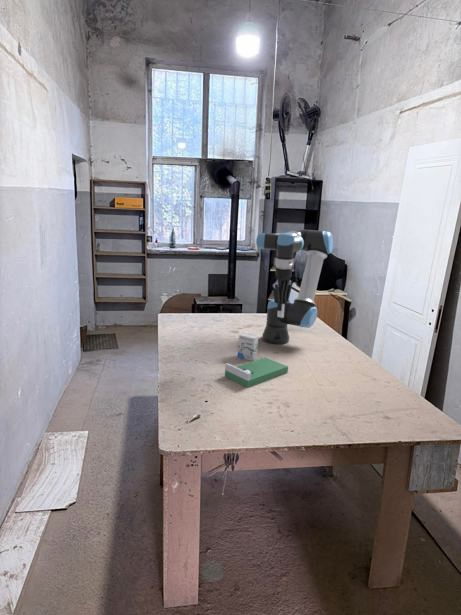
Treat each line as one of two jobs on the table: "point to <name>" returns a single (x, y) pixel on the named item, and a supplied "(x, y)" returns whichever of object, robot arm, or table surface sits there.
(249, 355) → the ink box
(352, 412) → the table surface
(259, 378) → the putting deck
